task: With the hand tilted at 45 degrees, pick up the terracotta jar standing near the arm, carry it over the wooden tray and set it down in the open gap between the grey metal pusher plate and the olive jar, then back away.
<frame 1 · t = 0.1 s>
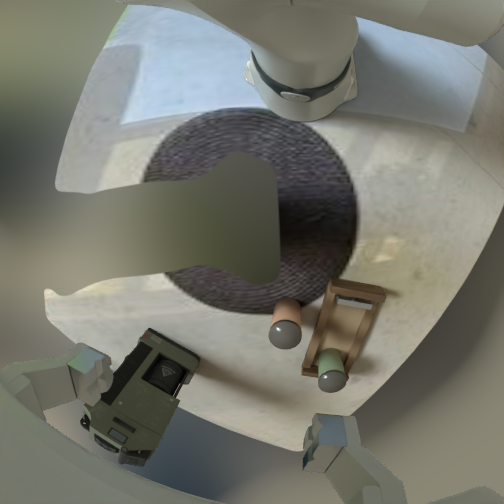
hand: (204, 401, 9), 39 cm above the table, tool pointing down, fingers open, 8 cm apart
olive jar: (329, 357, 52), resting on wooden tray
wooden tray: (339, 330, 50), on the table
terracotta jar: (287, 309, 50), on the table
device: (171, 351, 59), on the table
pusher: (354, 297, 45), point 2 cm above the table, slide at 0.0 cm
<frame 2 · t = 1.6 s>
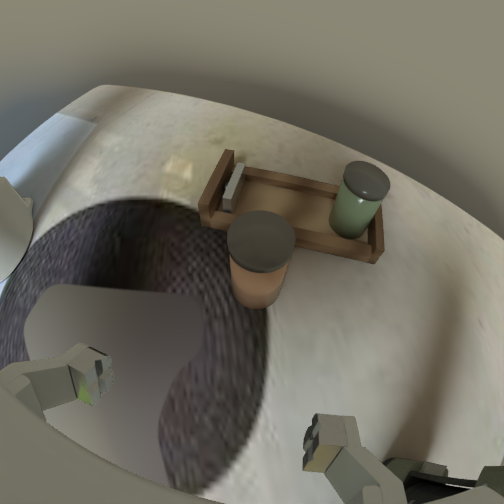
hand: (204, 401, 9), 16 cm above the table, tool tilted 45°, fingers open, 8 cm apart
olive jar: (347, 222, 33), resting on wooden tray
wooden tray: (295, 212, 34), on the table
terracotta jar: (256, 286, 28), on the table
pusher: (231, 188, 33), point 2 cm above the table, slide at 0.0 cm
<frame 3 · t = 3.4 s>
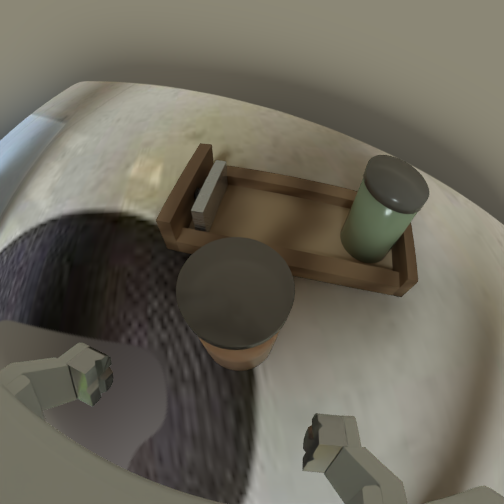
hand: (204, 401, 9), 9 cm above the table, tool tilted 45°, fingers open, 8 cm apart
olive jar: (365, 240, 24), resting on wooden tray
wooden tray: (295, 226, 25), on the table
terracotta jar: (239, 337, 19), on the table
pusher: (206, 195, 24), point 2 cm above the table, slide at 0.0 cm
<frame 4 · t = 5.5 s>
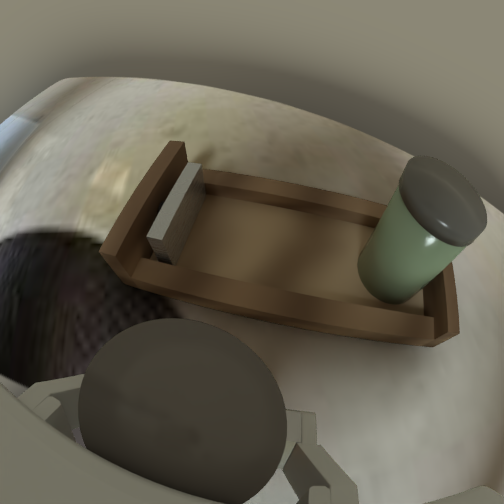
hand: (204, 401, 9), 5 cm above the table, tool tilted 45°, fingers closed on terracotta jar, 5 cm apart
olive jar: (389, 271, 17), resting on wooden tray
wooden tray: (296, 253, 18), on the table
terracotta jar: (214, 413, 13), on the table, touching gripper
pusher: (174, 211, 17), point 2 cm above the table, slide at 0.0 cm
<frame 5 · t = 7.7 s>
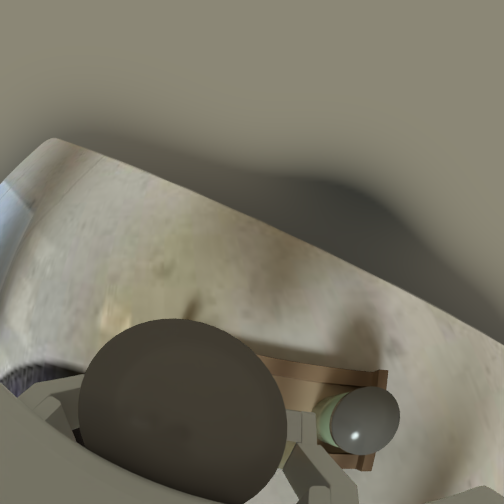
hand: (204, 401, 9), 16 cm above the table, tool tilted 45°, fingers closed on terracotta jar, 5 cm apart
olive jar: (334, 419, 22), resting on wooden tray
wooden tray: (265, 410, 22), on the table
terracotta jar: (214, 414, 13), point 11 cm above the table, touching gripper
when the fingers open (6 cm above the table, at t = 10.1 s): terracotta jar stays where it is, resting on wooden tray.
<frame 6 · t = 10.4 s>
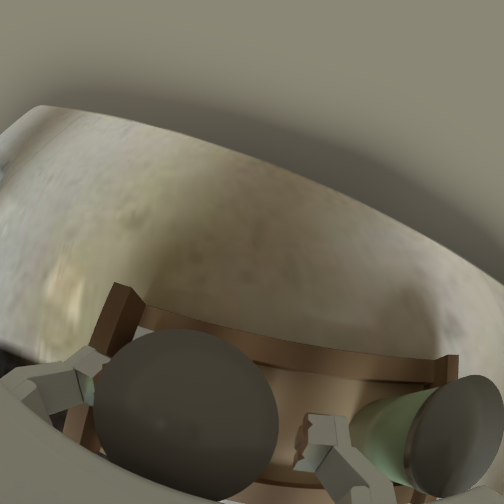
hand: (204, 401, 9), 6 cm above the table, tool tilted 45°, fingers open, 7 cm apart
olive jar: (382, 435, 12), resting on wooden tray
wooden tray: (276, 426, 13), on the table
terracotta jar: (215, 413, 14), resting on wooden tray
pusher: (131, 385, 13), point 2 cm above the table, slide at 0.0 cm
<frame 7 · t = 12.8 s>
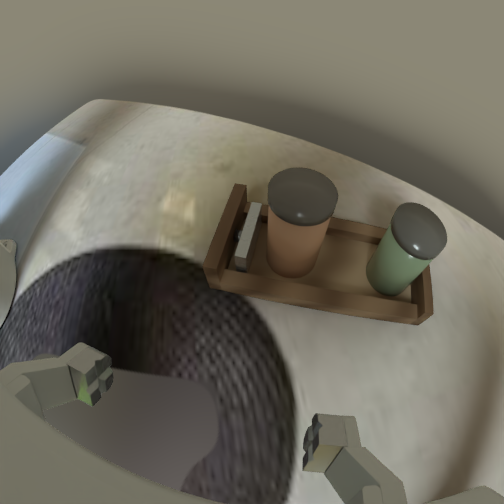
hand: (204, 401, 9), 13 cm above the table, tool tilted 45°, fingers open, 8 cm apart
olive jar: (387, 274, 26), resting on wooden tray
wooden tray: (325, 264, 27), on the table
terracotta jar: (291, 255, 27), resting on wooden tray
pusher: (244, 237, 26), point 2 cm above the table, slide at 0.0 cm
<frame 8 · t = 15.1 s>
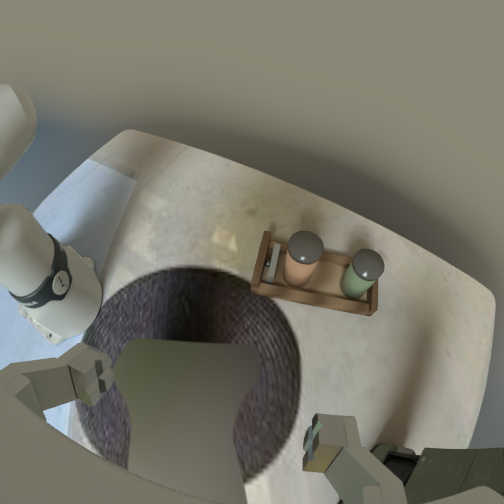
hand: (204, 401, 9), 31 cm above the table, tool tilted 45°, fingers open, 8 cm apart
olive jar: (352, 285, 46), resting on wooden tray
wooden tray: (316, 279, 47), on the table
terracotta jar: (296, 274, 47), resting on wooden tray
device: (370, 482, 28), on the table
pusher: (270, 264, 46), point 2 cm above the table, slide at 0.0 cm
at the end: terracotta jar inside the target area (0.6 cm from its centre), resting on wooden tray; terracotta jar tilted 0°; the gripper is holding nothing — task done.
